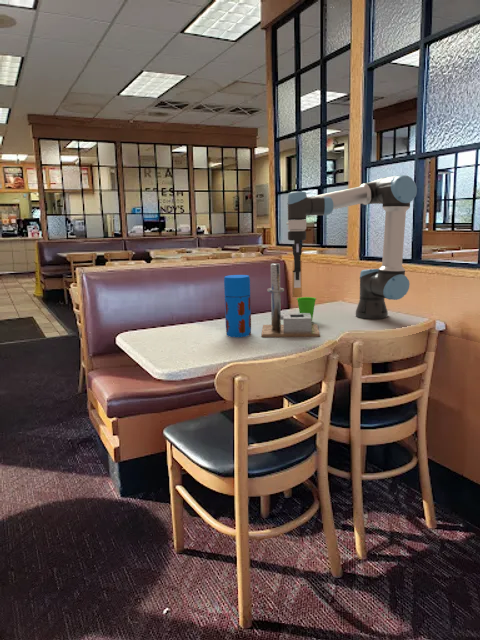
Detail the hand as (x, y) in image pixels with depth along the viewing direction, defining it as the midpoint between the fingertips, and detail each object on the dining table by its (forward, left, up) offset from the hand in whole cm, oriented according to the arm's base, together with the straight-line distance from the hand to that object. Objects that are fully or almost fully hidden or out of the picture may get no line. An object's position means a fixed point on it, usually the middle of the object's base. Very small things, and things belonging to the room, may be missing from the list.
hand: (297, 286), depth 205 cm
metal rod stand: (+3, -1, -20) cm, 20 cm away
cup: (-5, -21, -20) cm, 29 cm away
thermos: (+25, +3, -20) cm, 32 cm away
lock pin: (0, 0, -4) cm, 4 cm away
